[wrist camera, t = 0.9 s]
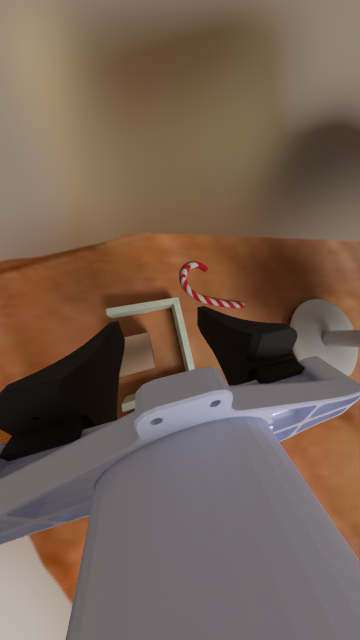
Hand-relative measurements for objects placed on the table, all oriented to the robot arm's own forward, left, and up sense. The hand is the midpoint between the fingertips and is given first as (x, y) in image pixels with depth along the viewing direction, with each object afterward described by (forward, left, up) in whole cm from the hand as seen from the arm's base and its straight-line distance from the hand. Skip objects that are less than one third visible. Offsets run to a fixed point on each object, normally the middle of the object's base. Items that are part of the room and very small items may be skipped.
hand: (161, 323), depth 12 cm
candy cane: (+6, -13, -13) cm, 19 cm away
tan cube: (-3, +4, -12) cm, 13 cm away
